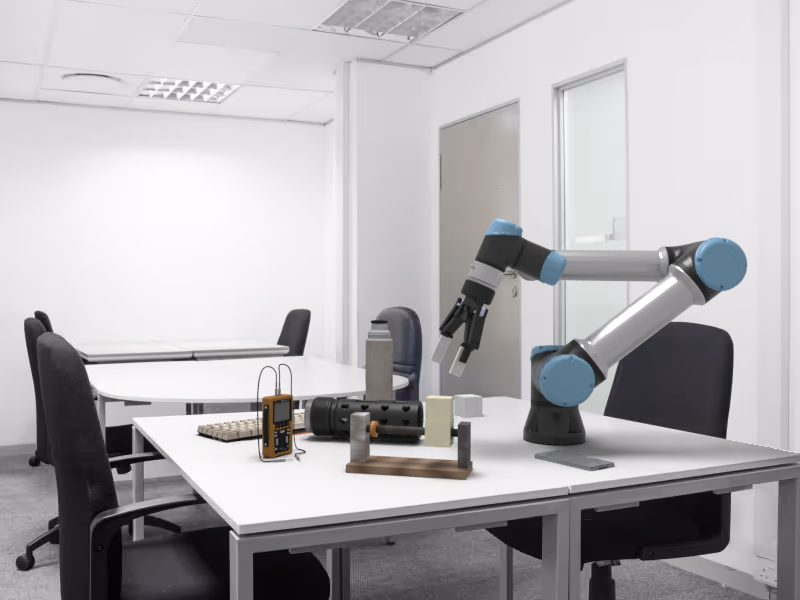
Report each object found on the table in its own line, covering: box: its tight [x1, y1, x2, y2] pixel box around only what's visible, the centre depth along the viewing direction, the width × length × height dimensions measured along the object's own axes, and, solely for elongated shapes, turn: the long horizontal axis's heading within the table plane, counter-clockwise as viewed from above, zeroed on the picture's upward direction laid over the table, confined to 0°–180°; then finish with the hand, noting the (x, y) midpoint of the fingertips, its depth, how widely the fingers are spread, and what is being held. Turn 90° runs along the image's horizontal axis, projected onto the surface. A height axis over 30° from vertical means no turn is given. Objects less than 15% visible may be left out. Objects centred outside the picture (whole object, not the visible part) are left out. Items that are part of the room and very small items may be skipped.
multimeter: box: [256, 363, 306, 463], centre depth 170 cm, size 15×10×20 cm
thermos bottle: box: [364, 319, 394, 401], centre depth 228 cm, size 8×8×28 cm
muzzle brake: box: [303, 396, 425, 443], centre depth 190 cm, size 10×28×10 cm, turn 78°
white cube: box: [453, 393, 483, 419], centre depth 230 cm, size 6×6×6 cm
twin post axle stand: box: [345, 412, 474, 480], centre depth 158 cm, size 24×10×11 cm, turn 77°
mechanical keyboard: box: [196, 411, 310, 446], centre depth 203 cm, size 38×19×3 cm, turn 134°
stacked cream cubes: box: [424, 395, 455, 448], centre depth 157 cm, size 5×5×10 cm
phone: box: [534, 449, 616, 472], centre depth 167 cm, size 8×16×1 cm, turn 36°
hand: (444, 368), depth 181 cm, fingers open, 13 cm apart
